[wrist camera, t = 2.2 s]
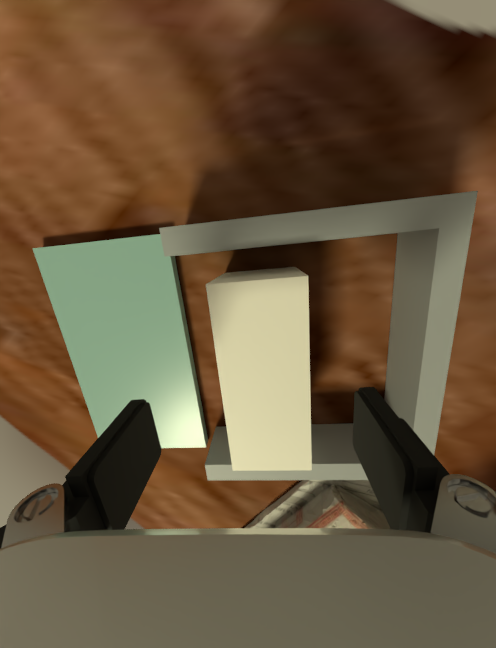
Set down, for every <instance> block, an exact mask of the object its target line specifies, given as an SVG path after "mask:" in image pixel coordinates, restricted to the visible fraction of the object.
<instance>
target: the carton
mask: <svg viewBox="0 0 496 648" xmlns="http://www.w3.org/2000/svg"><path fill="white" fill-rule="evenodd" d="M206 289H207V296H208V303H209V310H210V317H211V324H212V331H213V338H214V345H215V352H216V359H217V366H218V372H219V379H220V386H221V393H222V400H223V407H224V414H225V421H226V428H227V435H228V442H229V449H230V455H231V462H232V469H233V471H291V470H312V452H311V396H310V340H309V285H308V275H306V274H305V273H303V272H302V271H301V270H299V269H298V268H296V267H285V268H273V269H262V270H251V271H239V272H228V273H224V274H222V275H221V276H219V277H217V278H216V279H214V280H212V281H211V282H209V283H207V284H206Z"/></svg>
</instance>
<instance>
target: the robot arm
mask: <svg viewBox="0 0 496 648" xmlns="http://www.w3.org/2000/svg"><path fill="white" fill-rule="evenodd" d="M353 446H354V450H355V452H356V454H357V456H358V459H359V461H360V463H361V465H362V467H363V470H364V472H365V474H366V476H367V478H368V480H369V483H370V485H371V487H372V489H373V491H374V494H375V496H376V498H377V500H378V502H379V504H380V507H381V509H382V511H383V513H384V515H385V518H386V520H387V522H388V524H389V526H390V529H354V528H219V529H133V530H132V529H131V530H130V529H129V530H128V529H127V530H124V529H125V527H126V525H127V523H128V521H129V519H130V517H131V515H132V513H133V511H134V509H135V507H136V504H137V502H138V500H139V498H140V496H141V494H142V492H143V490H144V488H145V486H146V484H147V482H148V480H149V478H150V476H151V474H152V472H153V470H154V468H155V466H156V464H157V462H158V460H159V457H160V455H161V445H160V441H159V437H158V434H157V430H156V426H155V422H154V418H153V414H152V410H151V406H150V403H149V402H146V400H145V399H138V400H131V401H130V402H129V403H128V404H127V405H126V406H125V408H124V409H123V410H122V411H121V412H120V413H119V415H118V416H117V417H116V418H115V419H114V420H113V422H112V423H111V424H110V425H109V426H108V427H107V429H106V430H105V431H104V432H103V433H102V434H101V436H100V437H99V438H98V439H97V440H96V441H95V443H94V444H93V445H92V446H91V447H90V448H89V449H88V451H87V452H86V453H85V454H84V455H83V456H82V458H81V459H80V460H79V461H78V462H77V463H76V465H75V466H74V467H73V468H72V469H71V470H70V472H69V473H68V474H67V475H66V477H65V478H66V482H65V483H64V484H63V485H60V484H49V485H46V486H43V487H41V488H39V489H37V490H35V491H33V492H32V493H30V494H29V495H27V496H26V497H25V498H24V499H22V500H21V501H20V502H19V503H18V504H17V505H16V506H15V508H14V509H13V510H12V512H11V513H10V515H9V518H8V520H7V524H6V525H5V526H3V527H1V528H0V648H496V492H495V491H494V490H492V489H491V488H490V487H488V486H487V485H485V484H484V483H482V482H480V481H478V480H476V479H473V478H470V477H467V476H465V475H458V474H451V475H450V474H449V473H448V472H447V471H446V469H445V468H444V467H443V466H442V464H441V463H440V462H439V461H438V460H437V458H436V457H435V456H434V455H433V454H432V452H431V451H430V450H429V449H428V448H427V446H426V445H425V444H424V443H423V442H422V440H421V439H420V438H419V437H418V435H417V434H416V433H415V432H414V431H413V429H412V428H411V427H410V426H409V425H408V423H407V422H406V421H405V420H404V419H402V418H399V417H398V416H397V415H396V414H395V412H394V411H393V410H392V409H391V407H390V406H389V405H388V404H387V402H386V401H385V400H384V399H383V397H382V396H381V395H380V394H379V392H378V391H377V390H376V389H375V388H374V387H364V388H359V391H356V392H355V395H354V420H353Z"/></svg>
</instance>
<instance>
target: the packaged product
mask: <svg viewBox="0 0 496 648" xmlns="http://www.w3.org/2000/svg"><path fill="white" fill-rule="evenodd" d="M245 528H354V529H390V526H389V524H388V522H387V520H386V518H385V515H384V513H383V511H382V509H381V507H380V504H379V502H378V500H377V498H376V496H375V494H374V491H373V489H372V487H371V485H370V483H369V480H302V481H301V482H300V483H299V484H297V485H296V486H295V487H293V488H292V489H291V490H290V491H288V492H287V493H286V494H284V495H283V496H282V497H281V498H279V499H278V500H277V501H276V502H275V503H273V504H272V505H270V506H269V507H267V508H266V509H265V510H264V511H263V512H262V513H260V514H259V515H258V516H257V517H256V518H255V519H254V520H253V521H252V522H251V523H250V524H248V525H247V526H246V527H245Z"/></svg>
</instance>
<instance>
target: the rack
mask: <svg viewBox="0 0 496 648" xmlns="http://www.w3.org/2000/svg"><path fill="white" fill-rule="evenodd" d="M477 192H478V191H472V192H464V193H455V194H447V195H438V196H429V197H421V198H412V199H404V200H395V201H387V202H378V203H369V204H361V205H352V206H344V207H335V208H327V209H318V210H310V211H301V212H292V213H284V214H275V215H267V216H258V217H250V218H241V219H233V220H224V221H215V222H207V223H198V224H190V225H181V226H173V227H164V228H159V230H160V235H161V240H162V246H163V251H164V256H165V257H167V256H178V255H189V254H199V253H208V252H218V251H228V250H238V249H247V248H257V247H267V246H276V245H286V244H296V243H305V242H315V241H325V240H334V239H344V238H354V237H363V236H373V235H383V234H392V233H398V238H397V250H396V262H395V275H394V287H393V299H392V312H391V324H390V336H389V349H388V361H387V373H386V386H385V398H384V400H385V401H386V402H387V404H388V405H389V406H390V407H391V409H392V410H393V411H394V412H395V414H396V415H397V416H398V417H399V418H402V419H404V420H405V421H406V422H407V423H408V425H409V426H410V427H411V428H412V429H413V431H414V432H415V433H416V434H417V435H418V437H419V438H420V439H421V440H422V442H423V443H424V444H425V445H426V446H427V448H428V449H429V450H430V451H431V452H432V454H433V455H434V452H435V446H436V440H437V434H438V428H439V422H440V416H441V410H442V404H443V397H444V391H445V385H446V379H447V373H448V367H449V361H450V355H451V349H452V343H453V337H454V331H455V325H456V319H457V313H458V307H459V301H460V295H461V288H462V282H463V276H464V270H465V264H466V258H467V252H468V246H469V240H470V234H471V228H472V222H473V216H474V210H475V204H476V198H477ZM311 452H312V470H291V471H233V469H232V462H231V455H230V449H229V442H228V435H227V428H226V427H216V429H215V432H214V435H213V439H212V442H211V446H210V449H209V453H208V456H207V460H206V463H205V468H206V473H207V478H208V480H368V478H367V476H366V474H365V472H364V470H363V467H362V465H361V463H360V461H359V459H358V456H357V454H356V452H355V450H354V446H353V423H348V424H311Z"/></svg>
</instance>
